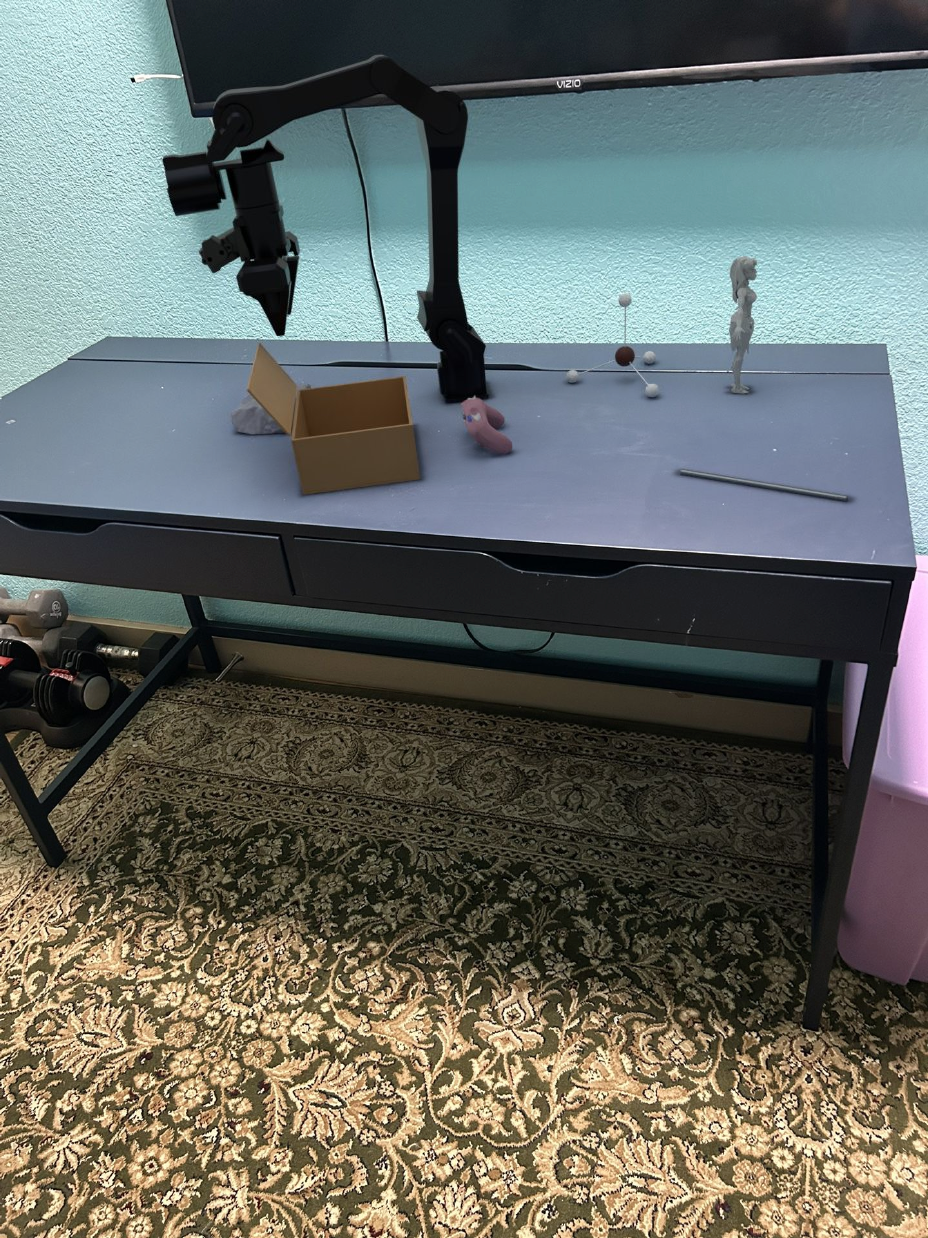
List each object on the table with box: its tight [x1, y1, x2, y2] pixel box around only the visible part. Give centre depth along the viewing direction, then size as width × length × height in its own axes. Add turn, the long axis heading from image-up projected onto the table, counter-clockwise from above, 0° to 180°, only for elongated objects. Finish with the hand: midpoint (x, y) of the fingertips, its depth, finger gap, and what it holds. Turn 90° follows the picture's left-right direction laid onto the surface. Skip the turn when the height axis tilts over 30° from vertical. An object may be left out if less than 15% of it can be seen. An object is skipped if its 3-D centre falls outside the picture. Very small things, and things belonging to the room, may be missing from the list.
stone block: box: [230, 382, 312, 436], centre depth 133 cm, size 12×5×10 cm
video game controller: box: [460, 396, 513, 455], centre depth 118 cm, size 10×5×7 cm, turn 5°
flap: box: [246, 342, 297, 437], centre depth 113 cm, size 17×7×1 cm
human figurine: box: [728, 255, 758, 394], centre depth 121 cm, size 12×4×18 cm, turn 163°
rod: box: [679, 468, 849, 502], centre depth 103 cm, size 1×19×1 cm, turn 59°
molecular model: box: [565, 293, 660, 398], centre depth 128 cm, size 13×15×13 cm
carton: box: [290, 375, 421, 496], centre depth 117 cm, size 17×15×7 cm
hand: (284, 324), depth 124 cm, fingers open, 9 cm apart
